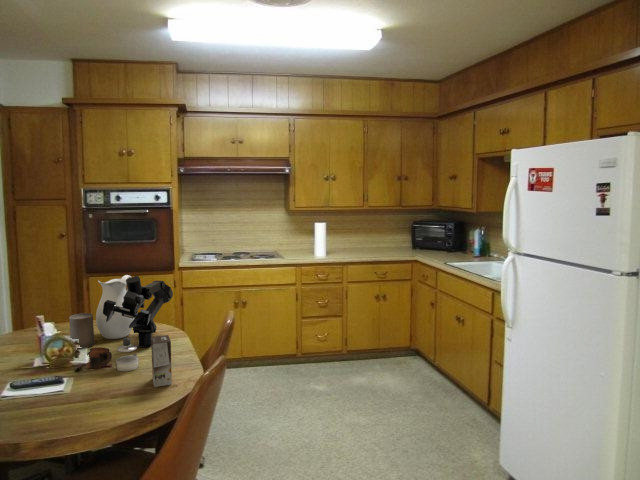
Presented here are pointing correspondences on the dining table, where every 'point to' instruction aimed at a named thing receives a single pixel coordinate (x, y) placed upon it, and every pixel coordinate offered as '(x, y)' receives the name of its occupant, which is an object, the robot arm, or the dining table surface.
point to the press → (127, 363)
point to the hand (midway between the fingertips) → (118, 323)
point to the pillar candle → (82, 329)
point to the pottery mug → (99, 357)
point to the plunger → (126, 346)
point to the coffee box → (161, 360)
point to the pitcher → (117, 323)
